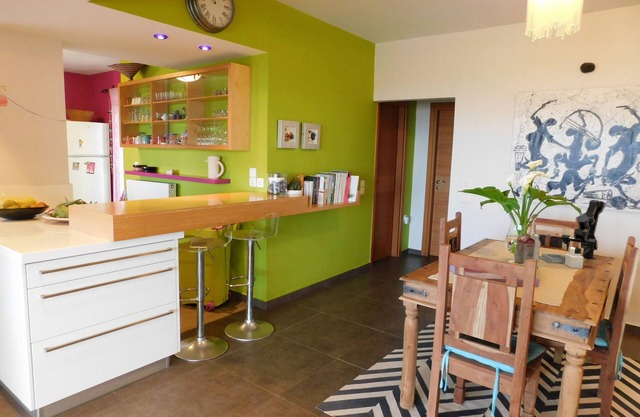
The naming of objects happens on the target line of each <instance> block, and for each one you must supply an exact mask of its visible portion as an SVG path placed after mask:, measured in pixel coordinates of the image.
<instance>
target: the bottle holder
mask: <svg viewBox="0 0 640 417" xmlns="http://www.w3.org/2000/svg"><path fill="white" fill-rule="evenodd" d="M565 258H566V255H563V254H561V253H560V254H557V253H541V255H539V259H540V260H542V261H544V262H546V263H548V264H563V265H565Z"/></svg>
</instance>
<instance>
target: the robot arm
mask: <svg viewBox="0 0 640 417" xmlns="http://www.w3.org/2000/svg"><path fill="white" fill-rule="evenodd" d="M605 207H606V203H605V202H604V201H603V200H599V199H597V200H596V199H590V200H589V203H588V207H587V209H586V211H585V212H584V213H582V214H580V215H578V216H577V217H576V220H577V225H578V226H577V227H578V228H574V232H573V237H571V235H570V234H562V236H561V242H562V243H563V244H565V245H566V251H569V250H570V247H571V246H570V245H571V242H575V243H579V244H580V248H581V249H582V254H581V255H580V256H582V257H584V258H583V259H590V260H591V259H592V260H593V259H594V260H596V257H594V251H598V244H599V243H598V239H597V238H596V236H595V235H596V231H597V226H598V225H597V224H598V221H599V218H600V214H601V213H603V212H604V209H605Z"/></svg>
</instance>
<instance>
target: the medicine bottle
mask: <svg viewBox="0 0 640 417" xmlns="http://www.w3.org/2000/svg"><path fill="white" fill-rule="evenodd" d="M568 251H569V253H566V254H565V257H566V258H565V264H564V265H565V266H567V267H568V268H571V269H583V264H584V259H585V258H584V257H582V256H580V255H582V248H581V247H577V246H569V250H568Z"/></svg>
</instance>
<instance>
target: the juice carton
mask: <svg viewBox="0 0 640 417" xmlns="http://www.w3.org/2000/svg"><path fill="white" fill-rule="evenodd" d="M515 245H516V246H515V255H514V256H515V257H514V263H518V264H524V263H525V260H526V259H533V256H534V247H535V240H534V239H532V235H531V234H528V233H527V232H526V233H525V232H522V233H521V235H520V236H519V237H517V238H516V244H515Z"/></svg>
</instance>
